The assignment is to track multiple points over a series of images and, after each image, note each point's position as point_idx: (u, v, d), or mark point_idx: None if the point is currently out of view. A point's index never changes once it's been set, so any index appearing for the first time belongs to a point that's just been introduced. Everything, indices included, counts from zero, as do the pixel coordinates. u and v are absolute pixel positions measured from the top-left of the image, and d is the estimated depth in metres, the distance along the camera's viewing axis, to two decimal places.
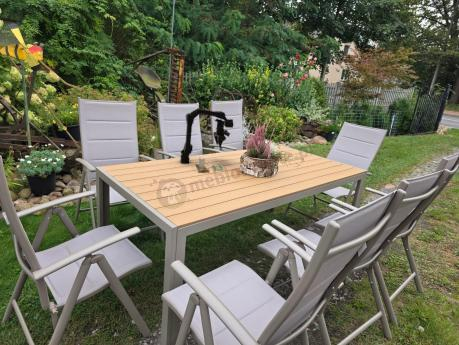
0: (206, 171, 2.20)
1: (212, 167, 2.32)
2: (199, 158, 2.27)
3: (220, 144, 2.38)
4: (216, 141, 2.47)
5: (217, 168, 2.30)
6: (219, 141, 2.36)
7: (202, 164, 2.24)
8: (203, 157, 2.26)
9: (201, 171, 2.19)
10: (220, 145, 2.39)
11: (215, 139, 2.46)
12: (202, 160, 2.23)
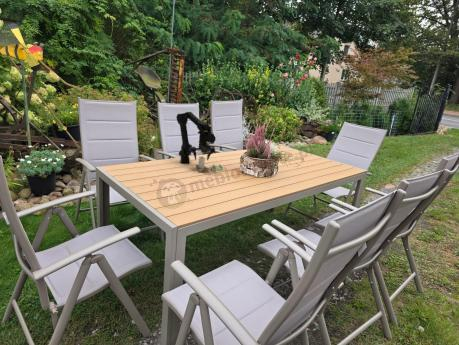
0: (206, 171, 2.20)
1: (212, 167, 2.32)
2: (199, 158, 2.27)
3: (194, 156, 2.23)
4: (207, 156, 2.27)
5: (217, 168, 2.30)
6: (193, 153, 2.24)
7: (202, 164, 2.24)
8: (203, 157, 2.26)
9: (201, 171, 2.19)
10: (195, 158, 2.24)
11: (207, 154, 2.28)
12: (202, 160, 2.23)
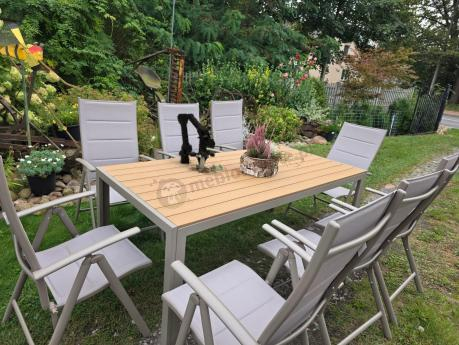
0: (206, 171, 2.20)
1: (212, 167, 2.32)
2: None
3: (198, 161, 2.25)
4: None
5: (217, 168, 2.30)
6: (197, 158, 2.26)
7: (202, 164, 2.24)
8: (203, 157, 2.26)
9: (201, 171, 2.19)
10: (198, 162, 2.26)
11: None
12: (202, 160, 2.23)
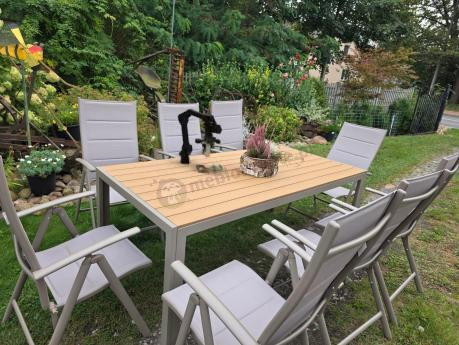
0: (206, 171, 2.20)
1: (212, 167, 2.32)
2: (205, 145, 2.24)
3: None
4: None
5: (217, 168, 2.30)
6: None
7: (208, 151, 2.21)
8: None
9: (201, 171, 2.19)
10: (204, 150, 2.24)
11: None
12: (208, 147, 2.20)
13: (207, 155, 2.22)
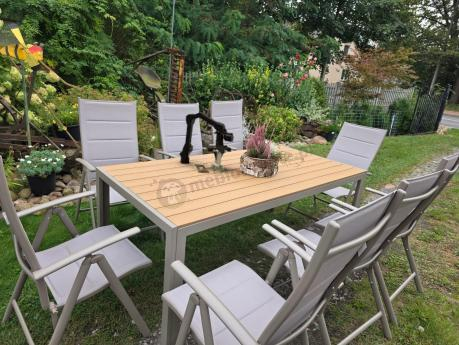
0: (206, 171, 2.19)
1: (212, 167, 2.32)
2: None
3: None
4: None
5: (217, 168, 2.30)
6: None
7: (219, 159, 2.27)
8: (220, 152, 2.29)
9: (200, 171, 2.19)
10: (215, 157, 2.29)
11: None
12: (219, 155, 2.26)
13: (218, 163, 2.27)
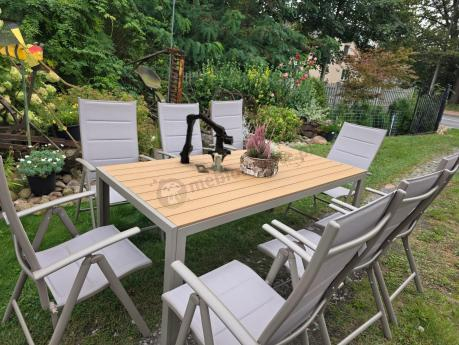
0: (206, 171, 2.19)
1: (212, 167, 2.32)
2: (215, 157, 2.30)
3: None
4: (221, 159, 2.32)
5: None
6: None
7: (218, 163, 2.28)
8: (219, 156, 2.30)
9: (200, 171, 2.19)
10: (213, 160, 2.29)
11: None
12: (219, 159, 2.27)
13: (218, 167, 2.29)
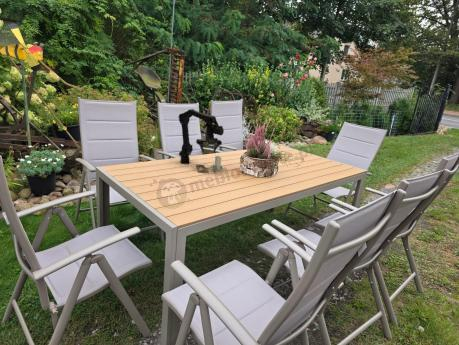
0: (205, 171, 2.19)
1: (212, 167, 2.32)
2: (215, 157, 2.30)
3: (201, 149, 2.23)
4: None
5: None
6: (200, 145, 2.23)
7: (218, 163, 2.28)
8: (219, 156, 2.30)
9: (200, 171, 2.19)
10: (201, 150, 2.23)
11: None
12: (219, 159, 2.27)
13: (218, 167, 2.29)
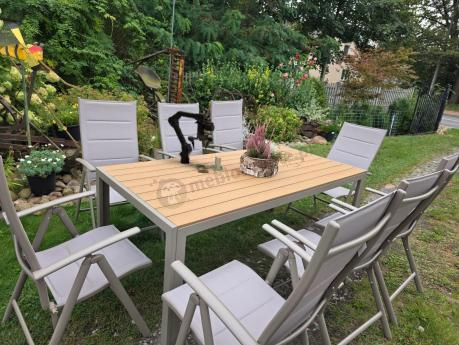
0: (205, 171, 2.19)
1: (212, 167, 2.32)
2: (215, 157, 2.30)
3: None
4: (205, 145, 2.34)
5: None
6: (191, 142, 2.30)
7: (218, 163, 2.28)
8: (219, 156, 2.30)
9: (200, 171, 2.19)
10: (193, 147, 2.30)
11: (205, 143, 2.34)
12: (219, 159, 2.27)
13: (218, 167, 2.29)
